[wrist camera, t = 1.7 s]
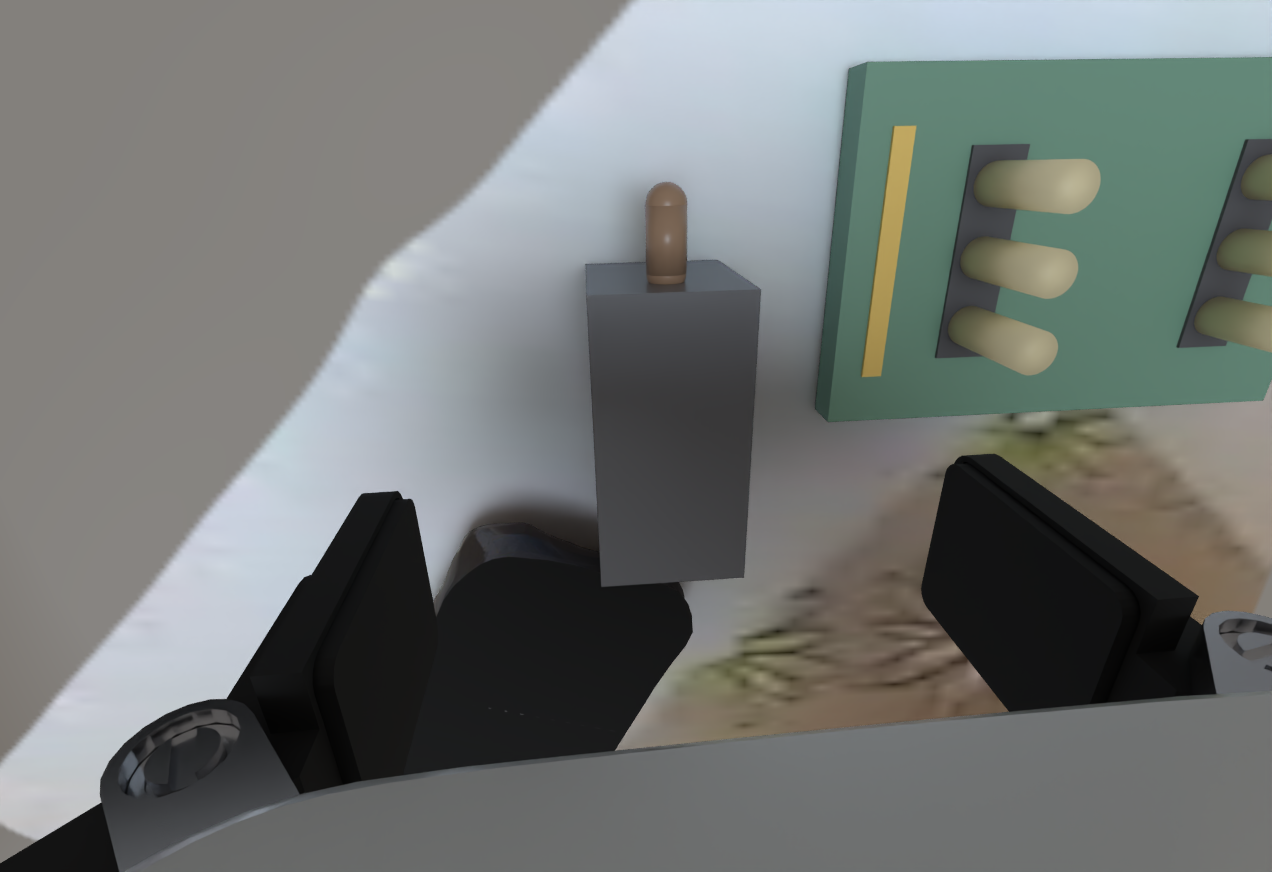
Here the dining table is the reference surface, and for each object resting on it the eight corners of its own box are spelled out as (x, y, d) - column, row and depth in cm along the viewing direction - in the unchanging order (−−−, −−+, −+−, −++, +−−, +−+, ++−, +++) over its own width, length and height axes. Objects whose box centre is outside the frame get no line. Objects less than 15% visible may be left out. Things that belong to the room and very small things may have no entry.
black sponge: (485, 476, 21) (467, 533, 18) (698, 557, 23) (717, 622, 20) (348, 785, 27) (315, 874, 23) (532, 830, 29) (525, 918, 25)
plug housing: (710, 492, 22) (743, 577, 17) (597, 499, 22) (601, 586, 17) (720, 178, 18) (767, 181, 13) (581, 181, 18) (581, 185, 13)
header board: (1228, 388, 22) (1374, 438, 18) (815, 408, 21) (869, 465, 17) (1352, 62, 18) (1573, 31, 14) (849, 68, 17) (931, 38, 13)
